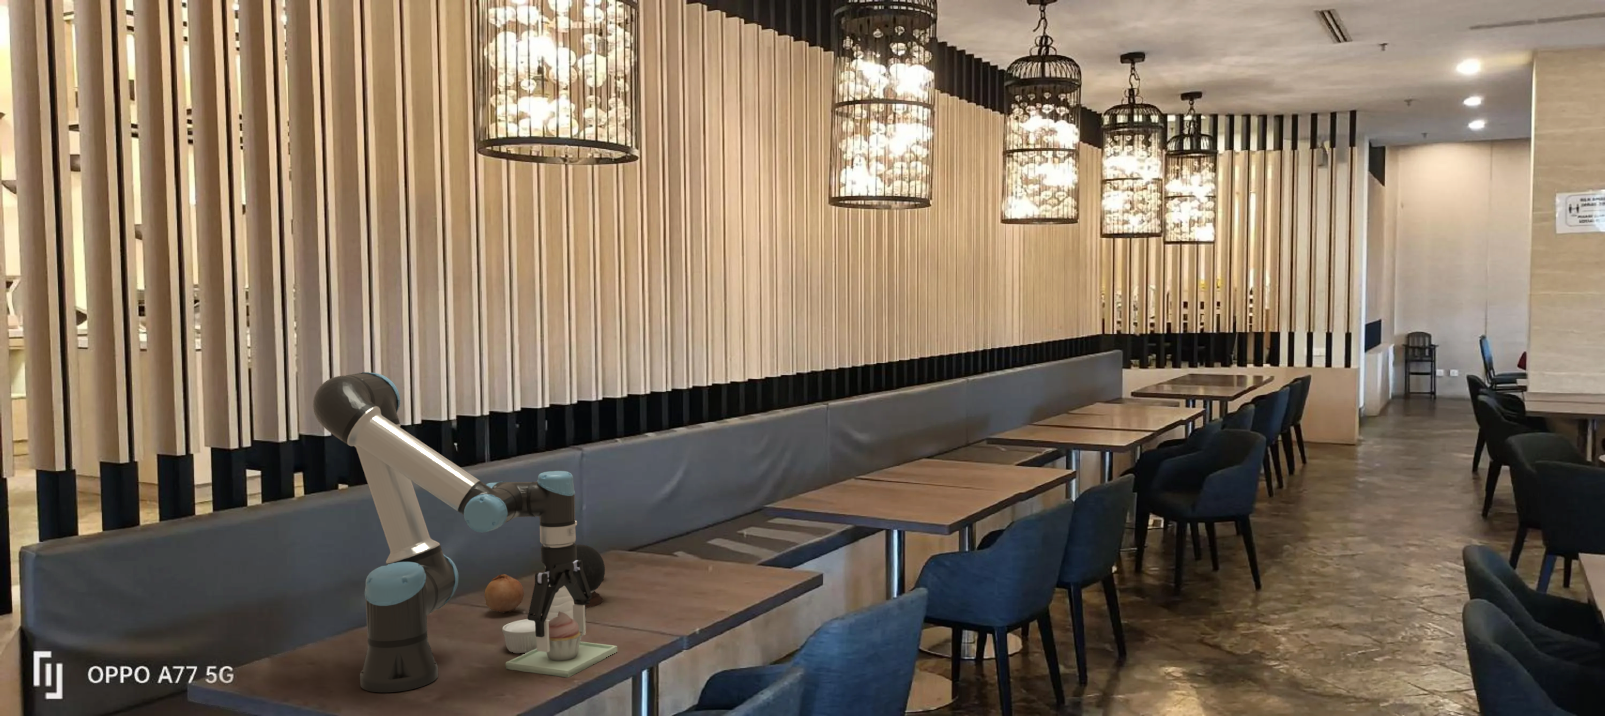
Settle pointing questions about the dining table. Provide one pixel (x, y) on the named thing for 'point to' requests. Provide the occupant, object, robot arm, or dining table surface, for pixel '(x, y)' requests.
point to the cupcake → (563, 638)
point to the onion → (504, 594)
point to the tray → (567, 668)
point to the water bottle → (561, 602)
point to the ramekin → (520, 636)
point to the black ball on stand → (592, 571)
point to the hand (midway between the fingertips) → (562, 642)
